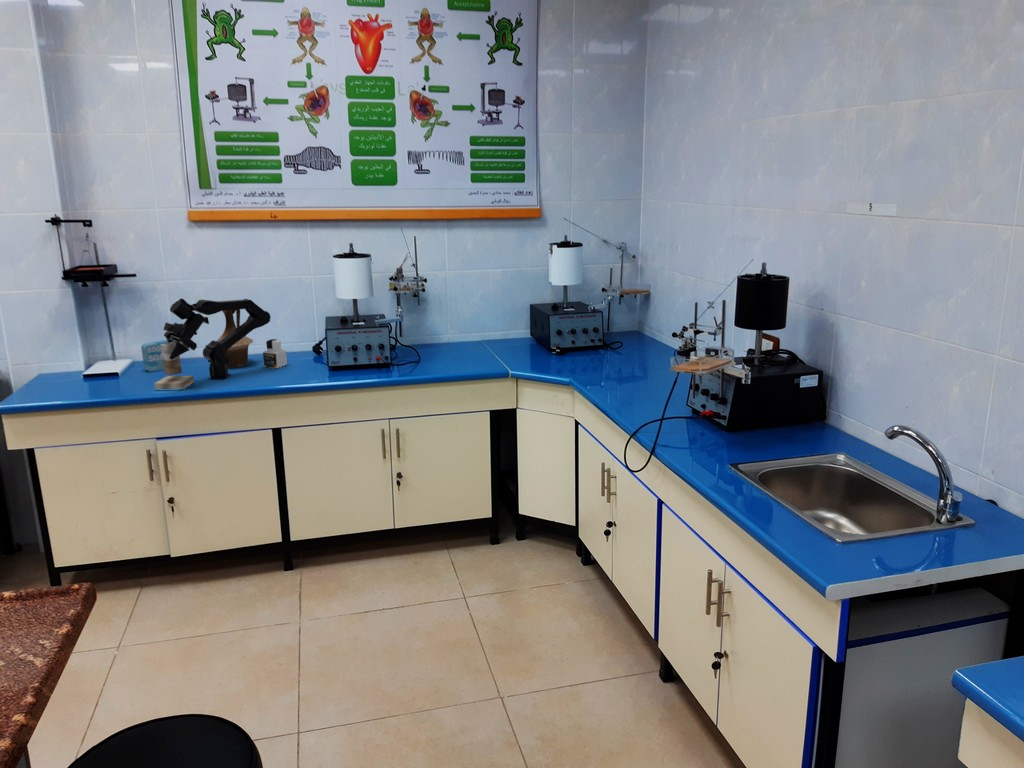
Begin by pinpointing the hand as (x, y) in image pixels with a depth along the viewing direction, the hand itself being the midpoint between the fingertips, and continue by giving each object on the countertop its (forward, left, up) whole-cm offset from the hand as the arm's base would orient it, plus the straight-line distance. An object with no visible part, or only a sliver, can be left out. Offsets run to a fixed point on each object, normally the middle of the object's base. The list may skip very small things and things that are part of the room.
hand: (167, 357), depth 306 cm
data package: (+18, -29, -13) cm, 36 cm away
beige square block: (-1, -1, -12) cm, 12 cm away
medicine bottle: (-32, -33, -13) cm, 48 cm away
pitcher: (-13, -36, -13) cm, 40 cm away
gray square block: (-1, -1, -7) cm, 7 cm away
